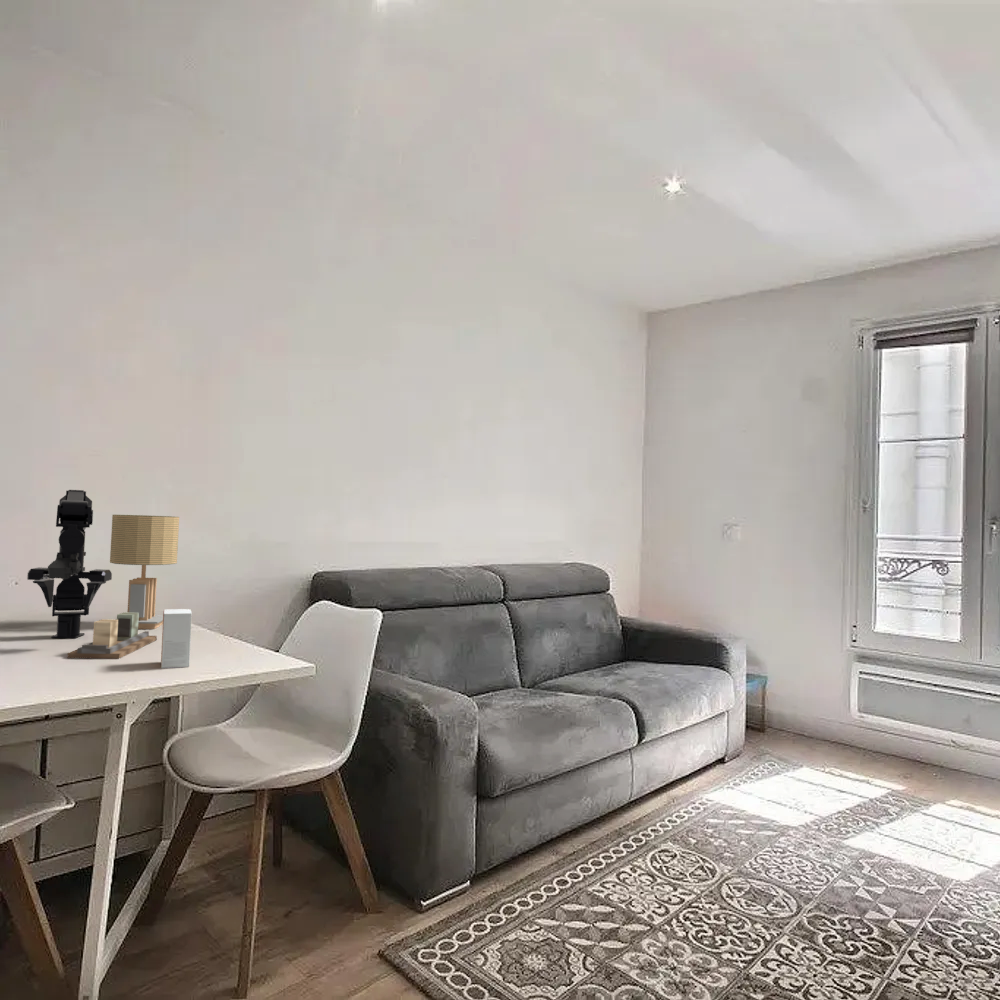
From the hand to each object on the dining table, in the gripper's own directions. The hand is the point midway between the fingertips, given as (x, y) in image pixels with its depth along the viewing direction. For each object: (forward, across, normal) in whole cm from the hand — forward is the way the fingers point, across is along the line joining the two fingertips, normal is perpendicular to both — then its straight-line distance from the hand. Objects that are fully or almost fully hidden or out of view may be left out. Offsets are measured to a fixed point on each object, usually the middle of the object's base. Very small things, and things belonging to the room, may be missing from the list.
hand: (68, 607), depth 192 cm
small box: (+10, +33, -21) cm, 40 cm away
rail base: (+11, +12, 0) cm, 16 cm away
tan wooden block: (+9, +12, -7) cm, 17 cm away
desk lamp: (+12, +6, +40) cm, 42 cm away
